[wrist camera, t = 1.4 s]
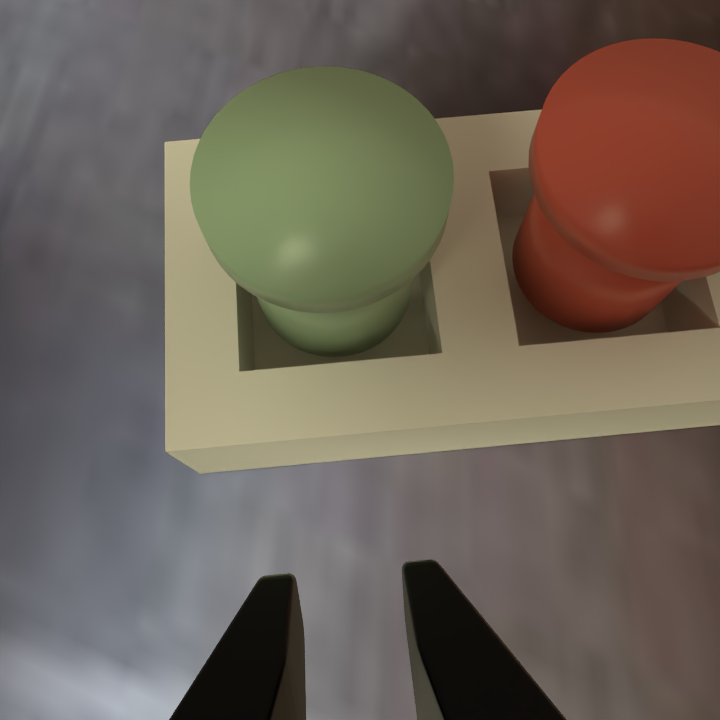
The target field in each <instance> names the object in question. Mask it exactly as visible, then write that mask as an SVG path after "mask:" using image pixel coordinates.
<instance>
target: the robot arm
mask: <svg viewBox="0 0 720 720" xmlns="http://www.w3.org/2000/svg"><path fill="white" fill-rule="evenodd" d="M402 582H403V597H404V612H405V623H406V632H407V640H408V648H409V656H410V664H411V672H412V680H413V688H414V696H415V704H416V712H417V720H566V719H565V717H564V716H563V715H562V714H561V712H560V711H559V710H558V709H557V708H556V706H555V705H554V704H553V703H552V701H551V700H550V699H549V698H548V697H547V695H546V694H545V693H544V692H543V690H542V689H541V688H540V687H539V686H538V684H537V683H536V682H535V681H534V679H533V678H532V677H531V676H530V675H529V673H528V672H527V671H526V670H525V668H524V667H523V666H522V665H521V664H520V662H519V661H518V660H517V659H516V657H515V656H514V655H513V654H512V653H511V651H510V650H509V649H508V648H507V646H506V645H505V644H504V643H503V641H502V640H501V639H500V638H499V637H498V635H497V634H496V633H495V632H494V630H493V629H492V628H491V627H490V626H489V624H488V623H487V622H486V621H485V619H484V618H483V617H482V616H481V615H480V613H479V612H478V611H477V610H476V608H475V607H474V606H473V605H472V604H471V602H470V601H469V600H468V599H467V597H466V596H465V595H464V594H463V593H462V591H461V590H460V589H459V588H458V586H457V585H456V584H455V583H454V582H453V580H452V579H451V578H450V577H449V575H448V574H447V573H446V572H445V571H444V569H443V568H442V567H441V566H440V565H439V563H438V562H436V561H435V560H420V561H410V562H405V563H404V564H403V566H402ZM169 720H306V692H305V644H304V627H303V619H302V613H301V607H300V600H299V594H298V588H297V582H296V578H295V577H294V575H292V574H290V573H287V574H277V575H267V576H263V577H261V578H260V579H259V580H258V581H257V583H256V584H255V586H254V588H253V589H252V591H251V592H250V594H249V595H248V597H247V599H246V600H245V602H244V603H243V605H242V606H241V608H240V610H239V611H238V613H237V614H236V616H235V617H234V619H233V621H232V622H231V624H230V625H229V627H228V628H227V630H226V632H225V633H224V635H223V636H222V638H221V639H220V641H219V643H218V644H217V646H216V647H215V649H214V650H213V652H212V654H211V655H210V657H209V658H208V660H207V661H206V663H205V664H204V666H203V668H202V669H201V671H200V672H199V674H198V675H197V677H196V679H195V680H194V682H193V683H192V685H191V686H190V688H189V690H188V691H187V693H186V694H185V696H184V697H183V699H182V701H181V702H180V704H179V705H178V707H177V708H176V710H175V712H174V713H173V715H172V716H171V718H170V719H169Z"/></svg>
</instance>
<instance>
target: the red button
mask: <svg viewBox="0 0 720 720" xmlns="http://www.w3.org/2000/svg"><path fill="white" fill-rule="evenodd" d="M528 166H529V175H530V181H531V185H532V188H533V192H534V194H533V197H532V199H531V201H530V204H529V206H528V208H527V211H526V213H525V215H524V218H523V220H522V223H521V225H520V227H519V230H518V232H517V235H516V238H515V240H514V245H513V251H512V262H513V269H514V273H515V277H516V280H517V282H518V285H519V287H520V288H521V290H522V292H523V294H524V295H525V296H526V298H527V299H528V300H529V302H530V303H531V304H532V305H533V306H534V307H535V308H536V309H537V310H538V311H539V312H540V313H542V314H543V315H544V316H546V317H547V318H549V319H550V320H552V321H553V322H555V323H558V324H560V325H562V326H564V327H567V328H570V329H573V330H577V331H582V332H590V333H606V332H612V331H617V330H620V329H624V328H626V327H628V326H631V325H633V324H635V323H636V322H638V321H640V320H641V319H643V318H644V317H645V316H646V315H647V314H648V313H650V312H651V311H652V310H653V309H654V308H655V307H656V306H657V305H658V304H659V303H660V302H661V301H662V300H663V299H664V298H665V297H666V296H667V295H668V294H669V293H670V292H671V291H673V290H674V289H675V288H676V287H677V286H678V285H679V284H680V283H681V282H682V281H687V280H693V279H699V278H703V277H706V276H710V275H713V274H716V273H718V272H720V52H718V51H716V50H713V49H711V48H708V47H705V46H702V45H698V44H694V43H691V42H686V41H680V40H674V39H661V38H649V39H636V40H628V41H623V42H619V43H615V44H611V45H608V46H606V47H603V48H601V49H598V50H596V51H594V52H592V53H590V54H588V55H586V56H585V57H583V58H581V59H580V60H579V61H577V62H576V63H575V64H573V65H572V66H571V67H570V68H569V69H568V70H566V71H565V72H564V73H563V74H562V75H561V76H560V78H559V79H558V80H557V82H556V83H555V84H554V86H553V87H552V89H551V90H550V92H549V94H548V96H547V98H546V100H545V103H544V105H543V108H542V111H541V114H540V116H539V119H538V122H537V124H536V127H535V130H534V133H533V136H532V138H531V143H530V149H529V163H528Z"/></svg>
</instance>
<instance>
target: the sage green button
mask: <svg viewBox="0 0 720 720" xmlns="http://www.w3.org/2000/svg"><path fill="white" fill-rule="evenodd" d="M453 185H454V170H453V161H452V157H451V152H450V148H449V146H448V143H447V141H446V138H445V135H444V133H443V132H442V130H441V128H440V126H439V125H438V123H437V121H436V120H435V119H434V117H433V116H432V115H431V113H430V112H429V111H428V110H427V109H426V108H425V107H424V106H423V105H422V104H421V103H420V102H419V101H418V100H417V99H416V98H415V97H414V96H412V95H411V94H410V93H408V92H407V91H406V90H404V89H403V88H401V87H399V86H398V85H396V84H394V83H393V82H391V81H389V80H386V79H384V78H382V77H379V76H377V75H374V74H371V73H368V72H364V71H361V70H356V69H351V68H345V67H332V66H320V67H307V68H300V69H294V70H290V71H286V72H282V73H279V74H276V75H274V76H271V77H268V78H265V79H263V80H261V81H259V82H257V83H255V84H253V85H251V86H250V87H248V88H247V89H245V90H244V91H242V92H241V93H239V94H238V95H236V96H235V97H234V98H233V99H232V100H230V101H229V102H228V103H227V104H226V105H225V106H224V107H223V108H222V109H221V110H220V111H219V112H218V113H217V114H216V115H215V117H214V118H213V119H212V121H211V122H210V124H209V125H208V126H207V128H206V129H205V131H204V133H203V135H202V137H201V139H200V141H199V143H198V145H197V148H196V151H195V154H194V157H193V161H192V166H191V171H190V195H191V202H192V206H193V211H194V215H195V217H196V220H197V222H198V224H199V227H200V229H201V231H202V233H203V236H204V238H205V240H206V242H207V244H208V246H209V248H210V250H211V252H212V253H213V255H214V257H215V258H216V260H217V262H218V263H219V265H220V266H221V267H222V268H223V269H224V271H225V272H226V273H227V274H228V275H229V276H230V277H231V278H232V279H233V280H234V281H235V282H236V283H237V284H238V285H240V286H241V287H242V288H244V289H245V290H247V291H248V292H250V293H251V294H252V295H254V296H256V297H257V299H258V302H259V304H260V307H261V309H262V312H263V314H264V316H265V318H266V320H267V322H268V323H269V325H270V326H271V328H272V329H273V330H274V331H275V332H276V334H278V335H279V336H280V337H281V338H282V339H283V340H284V341H286V342H287V343H289V344H290V345H291V346H293V347H295V348H297V349H299V350H301V351H304V352H307V353H309V354H313V355H318V356H324V357H343V356H350V355H354V354H357V353H361V352H363V351H366V350H368V349H371V348H372V347H374V346H376V345H377V344H379V343H381V342H382V341H383V340H384V339H386V338H387V337H388V336H389V335H390V334H391V333H392V332H393V331H394V330H395V329H396V328H397V326H398V325H399V324H400V322H401V321H402V319H403V317H404V315H405V314H406V311H407V308H408V306H409V302H410V298H411V293H412V286H413V279H414V277H415V276H416V275H417V274H418V273H419V272H420V271H421V270H422V269H423V268H424V267H425V265H426V264H427V263H428V262H429V260H430V259H431V258H432V256H433V254H434V253H435V251H436V249H437V247H438V245H439V244H440V241H441V238H442V236H443V233H444V231H445V227H446V222H447V218H448V214H449V209H450V204H451V199H452V195H453Z"/></svg>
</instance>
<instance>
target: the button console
mask: <svg viewBox="0 0 720 720" xmlns="http://www.w3.org/2000/svg"><path fill="white" fill-rule="evenodd" d="M541 111H542V110H530V111H519V112H507V113H495V114H484V115H472V116H461V117H449V118H438V119H435V120H436V121H437V123H438V125H439V126H440V128H441V130H442V132H443V133H444V135H445V138H446V141H447V143H448V146H449V148H450V152H451V157H452V161H453V170H454V185H453V195H452V199H451V204H450V209H449V214H448V218H447V222H446V227H445V231H444V233H443V236H442V238H441V241H440V244H439V245H438V247H437V249H436V251H435V253H434V254H433V256H432V258H431V259H430V260H429V262H428V263H427V264H426V265H425V267H424V268H423V269H422V270H421V271H420V272H419V273H418V274H417V275H416V276H415V277H414V279H413V286H412V293H411V298H410V302H409V306H408V308H407V311H406V314H405V315H404V317H403V319H402V321H401V322H400V324H399V325H398V326H397V328H396V329H395V330H394V331H393V332H392V333H391V334H390V335H389V336H388V337H387V338H386V339H384V340H383V341H382V342H381V343H379V344H377V345H376V346H374V347H372V348H371V349H368V350H366V351H363V352H361V353H357V354H354V355H350V356H343V357H324V356H318V355H313V354H309V353H307V352H304V351H301V350H299V349H297V348H295V347H293V346H291V345H290V344H289V343H287V342H286V341H284V340H283V339H282V338H281V337H280V336H279V335H278V334H276V332H275V331H274V330H273V329H272V328H271V326H270V325H269V323H268V322H267V320H266V318H265V316H264V314H263V312H262V309H261V307H260V304H259V302H258V299H257V297H256V296H254V295H252V294H251V293H250V292H248V291H247V290H245V289H244V288H242V287H241V286H240V285H238V284H237V283H236V282H235V281H234V280H233V279H232V278H231V277H230V276H229V275H228V274H227V273H226V272H225V271H224V269H223V268H222V267H221V266H220V265H219V263H218V262H217V260H216V258H215V257H214V255H213V253H212V252H211V250H210V248H209V246H208V244H207V242H206V240H205V238H204V236H203V233H202V231H201V229H200V227H199V224H198V222H197V220H196V217H195V215H194V211H193V206H192V202H191V195H190V171H191V166H192V161H193V157H194V154H195V151H196V148H197V145H198V143H199V141H200V139H194V140H183V141H171V142H165V452H167V453H168V454H170V455H171V456H173V457H175V458H176V459H178V460H179V461H181V462H183V463H184V464H186V465H187V466H189V467H191V468H192V469H194V470H195V471H197V472H198V473H200V474H201V473H212V472H223V471H234V470H244V469H255V468H266V467H276V466H287V465H298V464H308V463H319V462H330V461H340V460H351V459H362V458H372V457H383V456H394V455H405V454H415V453H426V452H437V451H447V450H458V449H469V448H479V447H490V446H501V445H511V444H522V443H533V442H543V441H554V440H565V439H575V438H586V437H597V436H608V435H618V434H629V433H640V432H650V431H661V430H672V429H682V428H693V427H704V426H714V425H720V272H718V273H716V274H713V275H710V276H706V277H703V278H699V279H693V280H687V281H682V282H681V283H680V284H679V285H678V286H677V287H676V288H675V289H674V290H673V291H671V292H670V293H669V294H668V295H667V296H666V297H665V298H664V299H663V300H662V301H661V302H660V303H659V304H658V305H657V306H656V307H655V308H654V309H653V310H652V311H651V312H650V313H648V314H647V315H646V316H645V317H644V318H643V319H641V320H640V321H638V322H636V323H635V324H633V325H631V326H628V327H626V328H624V329H620V330H617V331H612V332H606V333H590V332H582V331H577V330H573V329H570V328H567V327H564V326H562V325H560V324H558V323H555V322H553V321H552V320H550V319H549V318H547V317H546V316H544V315H543V314H542V313H540V312H539V311H538V310H537V309H536V308H535V307H534V306H533V305H532V304H531V303H530V302H529V300H528V299H527V298H526V296H525V295H524V294H523V292H522V290H521V288H520V287H519V285H518V282H517V280H516V277H515V273H514V269H513V262H512V251H513V245H514V240H515V238H516V235H517V232H518V230H519V227H520V225H521V223H522V220H523V218H524V215H525V213H526V211H527V208H528V206H529V204H530V201H531V199H532V197H533V194H534V192H533V188H532V185H531V181H530V175H529V166H528V163H529V149H530V143H531V138H532V136H533V133H534V130H535V127H536V124H537V122H538V119H539V116H540V114H541Z"/></svg>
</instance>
